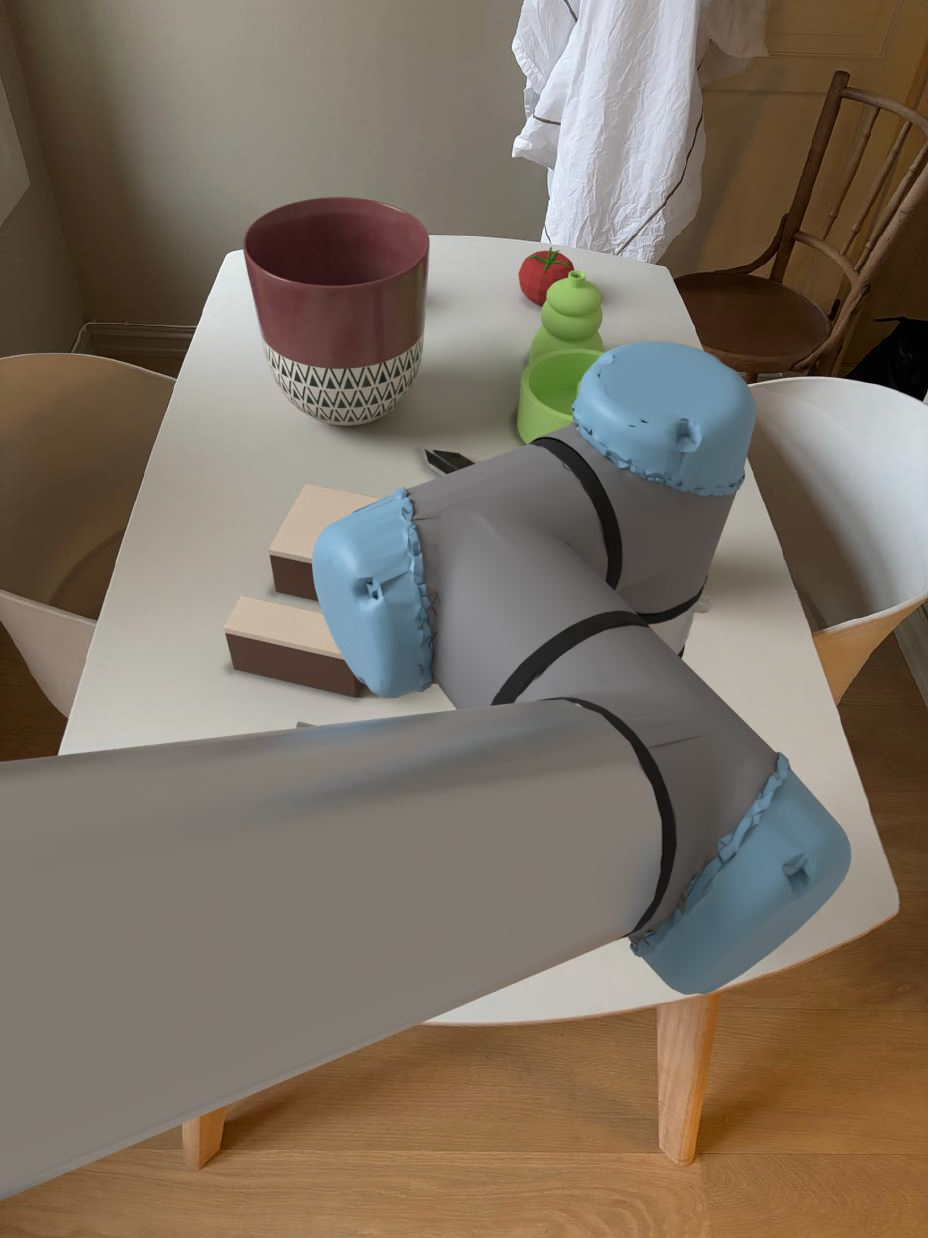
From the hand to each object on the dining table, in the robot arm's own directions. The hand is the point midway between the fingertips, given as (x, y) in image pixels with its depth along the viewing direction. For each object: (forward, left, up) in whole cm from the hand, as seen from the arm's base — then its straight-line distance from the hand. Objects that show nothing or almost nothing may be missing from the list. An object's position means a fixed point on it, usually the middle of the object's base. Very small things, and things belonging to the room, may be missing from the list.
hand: (566, 838), depth 67 cm
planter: (+55, +36, -9) cm, 66 cm away
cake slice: (+16, +27, -9) cm, 32 cm away
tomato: (+87, +18, -9) cm, 89 cm away
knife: (+43, +14, -9) cm, 46 cm away
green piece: (+64, +10, -9) cm, 66 cm away
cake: (+29, +27, -9) cm, 41 cm away
